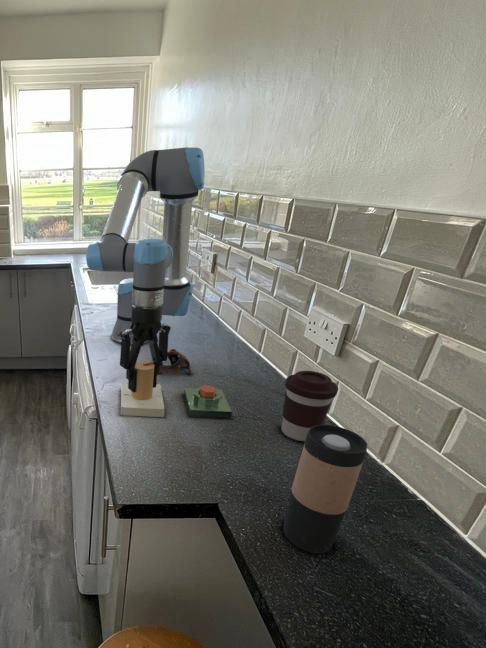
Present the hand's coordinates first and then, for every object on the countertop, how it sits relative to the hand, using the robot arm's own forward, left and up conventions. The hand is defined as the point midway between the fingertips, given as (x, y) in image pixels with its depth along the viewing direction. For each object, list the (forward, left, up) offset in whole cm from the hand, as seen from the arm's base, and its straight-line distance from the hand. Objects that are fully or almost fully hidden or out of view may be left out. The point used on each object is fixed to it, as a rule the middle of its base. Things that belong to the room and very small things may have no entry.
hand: (142, 387), depth 109 cm
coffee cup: (+11, +36, -5) cm, 38 cm away
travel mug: (+43, +26, -5) cm, 51 cm away
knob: (0, 0, -2) cm, 2 cm away
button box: (0, +17, -5) cm, 18 cm away
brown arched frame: (-21, +11, -5) cm, 24 cm away
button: (0, +17, -1) cm, 17 cm away
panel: (0, 0, -5) cm, 5 cm away
